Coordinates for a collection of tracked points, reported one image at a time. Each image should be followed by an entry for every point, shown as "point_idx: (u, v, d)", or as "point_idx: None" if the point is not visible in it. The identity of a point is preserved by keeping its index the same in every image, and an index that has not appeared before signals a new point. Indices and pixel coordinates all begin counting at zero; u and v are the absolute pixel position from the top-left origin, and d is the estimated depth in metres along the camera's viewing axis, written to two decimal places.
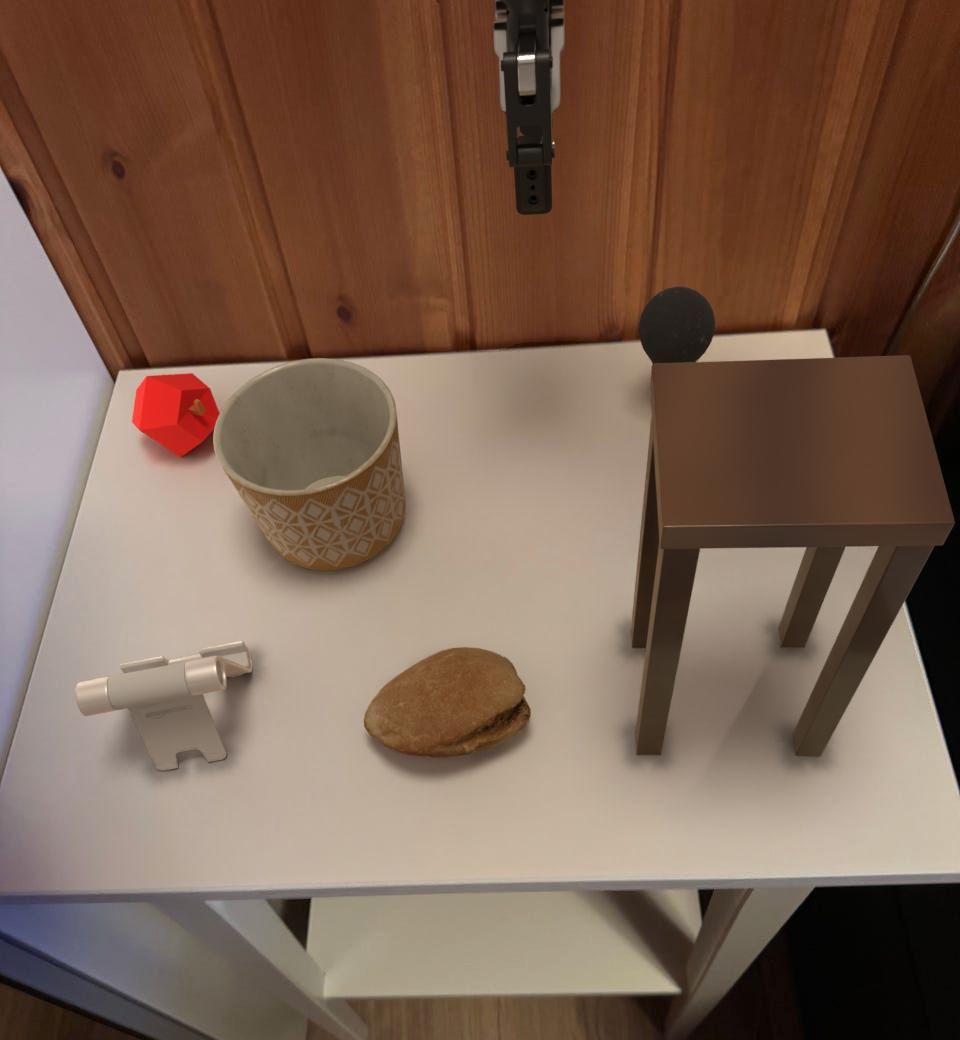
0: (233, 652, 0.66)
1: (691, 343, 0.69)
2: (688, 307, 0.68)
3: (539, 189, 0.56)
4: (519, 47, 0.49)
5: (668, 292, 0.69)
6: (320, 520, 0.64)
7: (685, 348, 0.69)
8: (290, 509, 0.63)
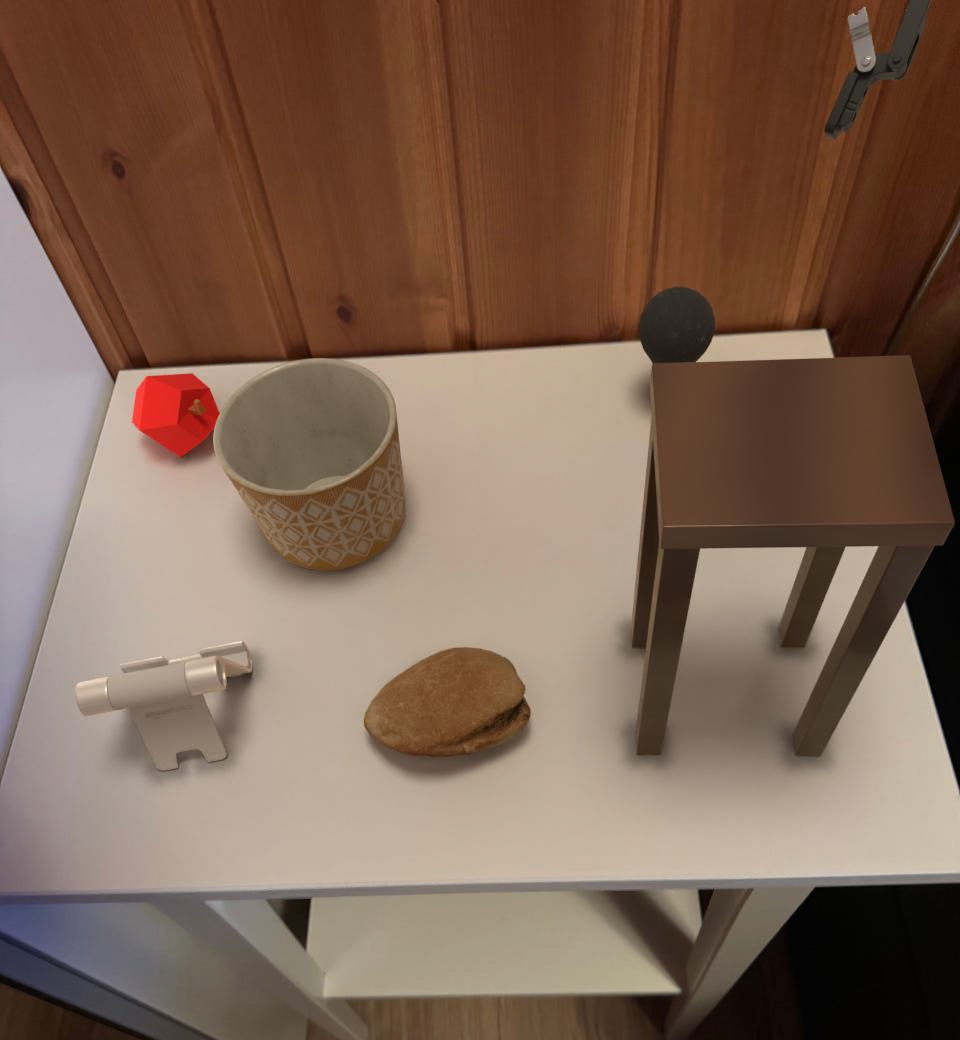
0: (233, 652, 0.66)
1: (691, 343, 0.69)
2: (688, 307, 0.68)
3: None
4: None
5: (668, 292, 0.69)
6: (320, 520, 0.64)
7: (685, 348, 0.69)
8: (290, 509, 0.63)
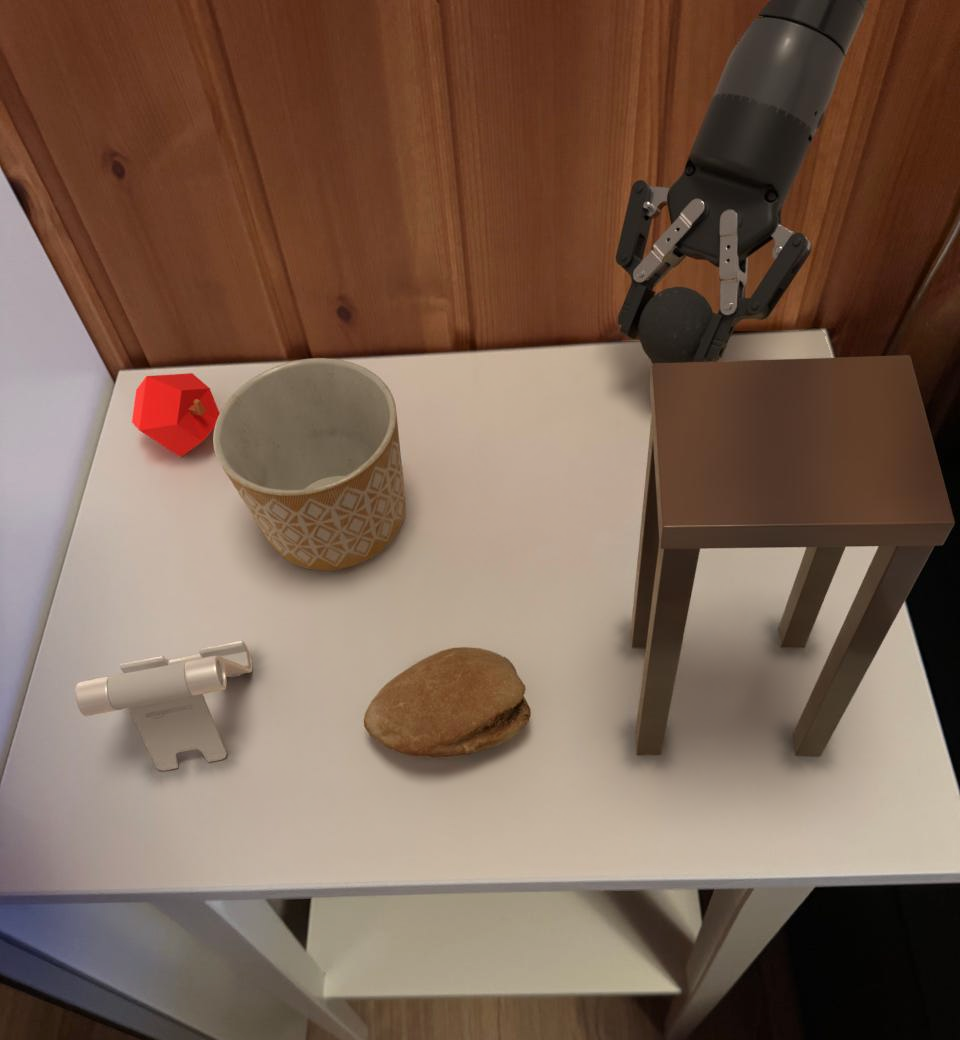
0: (233, 652, 0.66)
1: (691, 343, 0.69)
2: (687, 307, 0.68)
3: (624, 303, 0.71)
4: None
5: (667, 292, 0.69)
6: (320, 520, 0.64)
7: (684, 348, 0.69)
8: (290, 509, 0.63)
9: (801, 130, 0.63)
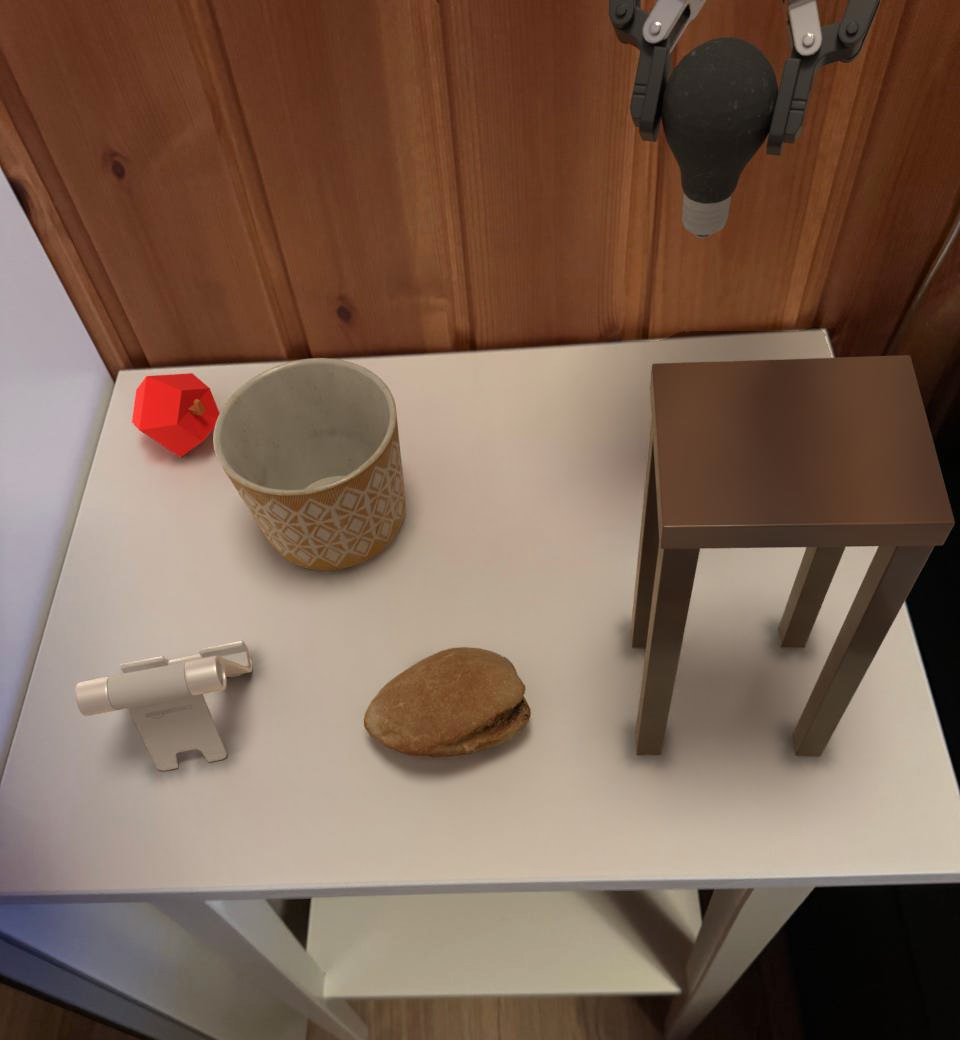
0: (233, 652, 0.66)
1: (758, 114, 0.45)
2: (745, 58, 0.44)
3: (634, 86, 0.47)
4: None
5: (705, 46, 0.45)
6: (320, 520, 0.64)
7: (750, 125, 0.45)
8: (290, 509, 0.63)
9: None
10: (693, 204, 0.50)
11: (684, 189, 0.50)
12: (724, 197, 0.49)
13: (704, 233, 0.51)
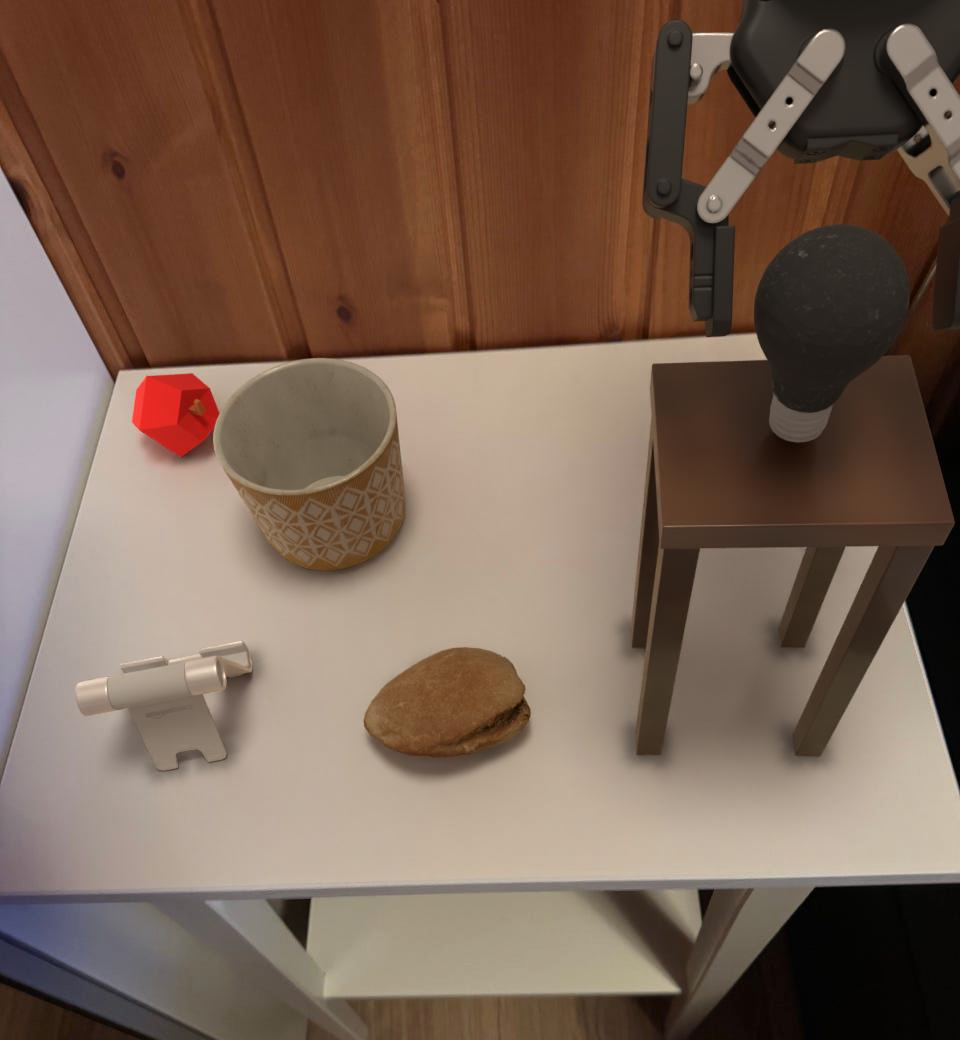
0: (233, 652, 0.66)
1: (900, 317, 0.35)
2: (877, 254, 0.34)
3: (692, 277, 0.35)
4: None
5: (817, 243, 0.34)
6: (320, 520, 0.64)
7: (891, 332, 0.35)
8: (290, 509, 0.63)
9: None
10: (794, 414, 0.40)
11: (782, 399, 0.39)
12: (834, 401, 0.39)
13: (806, 440, 0.41)
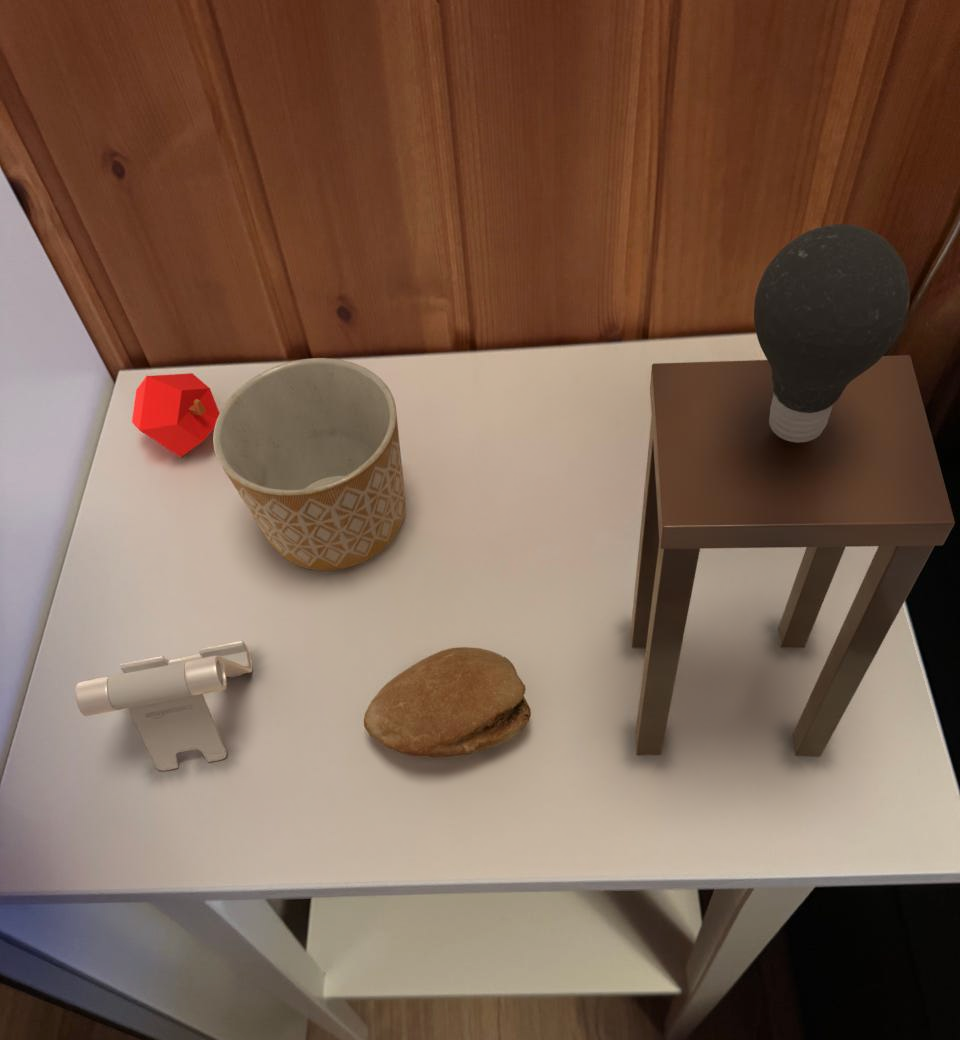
0: (233, 652, 0.66)
1: (900, 318, 0.35)
2: (877, 254, 0.34)
3: None
4: None
5: (817, 244, 0.34)
6: (320, 520, 0.64)
7: (891, 332, 0.35)
8: (290, 509, 0.63)
9: None
10: (795, 414, 0.40)
11: (782, 399, 0.39)
12: (835, 401, 0.39)
13: (806, 440, 0.41)
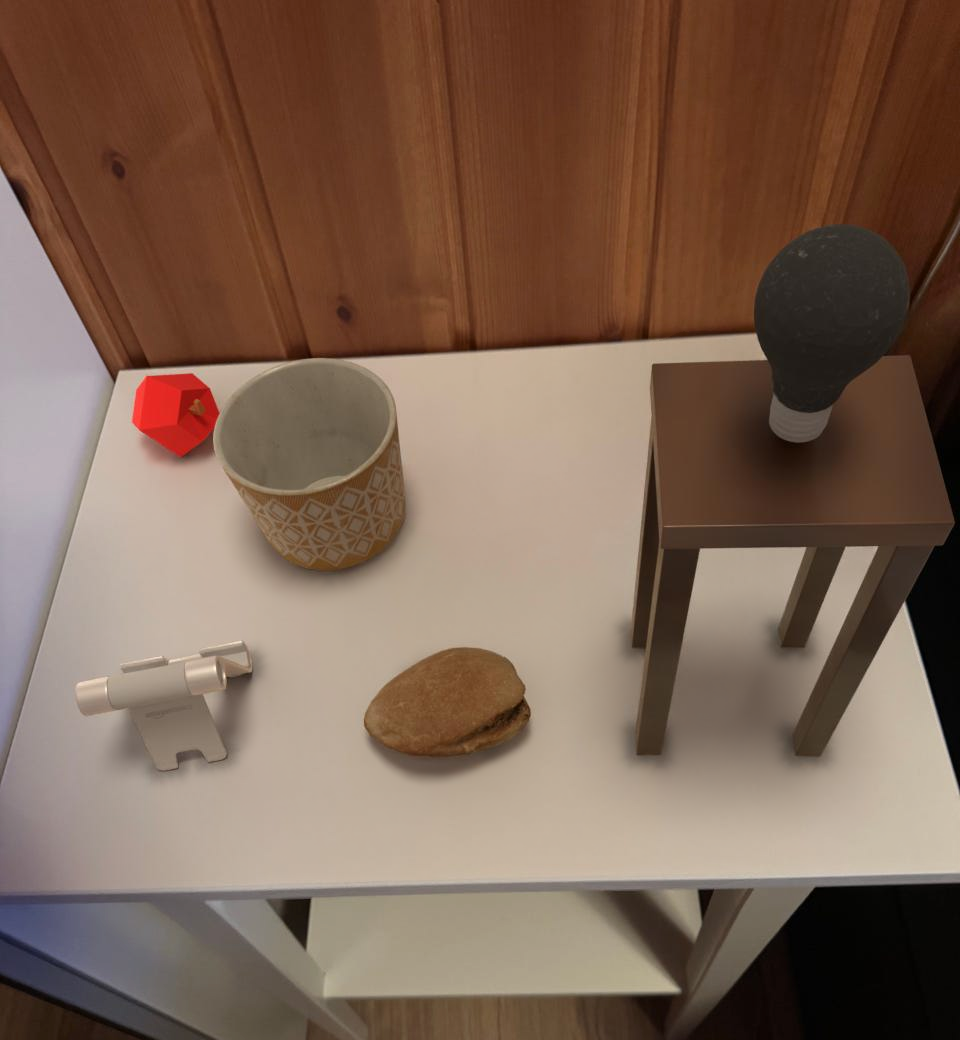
0: (233, 652, 0.66)
1: (900, 318, 0.35)
2: (877, 254, 0.34)
3: None
4: None
5: (817, 244, 0.34)
6: (320, 520, 0.64)
7: (891, 332, 0.35)
8: (290, 509, 0.63)
9: None
10: (795, 414, 0.40)
11: (782, 399, 0.39)
12: (835, 401, 0.39)
13: (806, 440, 0.41)
